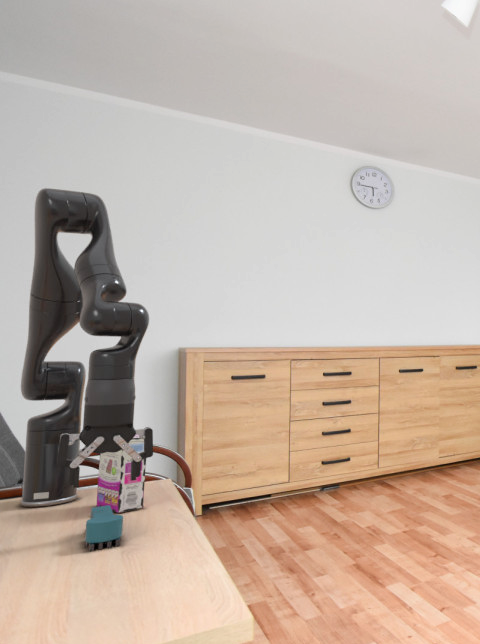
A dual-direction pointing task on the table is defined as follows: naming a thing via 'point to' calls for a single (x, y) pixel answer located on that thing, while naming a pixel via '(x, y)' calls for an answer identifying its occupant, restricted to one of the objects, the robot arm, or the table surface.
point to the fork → (100, 544)
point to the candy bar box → (121, 480)
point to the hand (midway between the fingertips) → (105, 483)
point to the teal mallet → (103, 525)
